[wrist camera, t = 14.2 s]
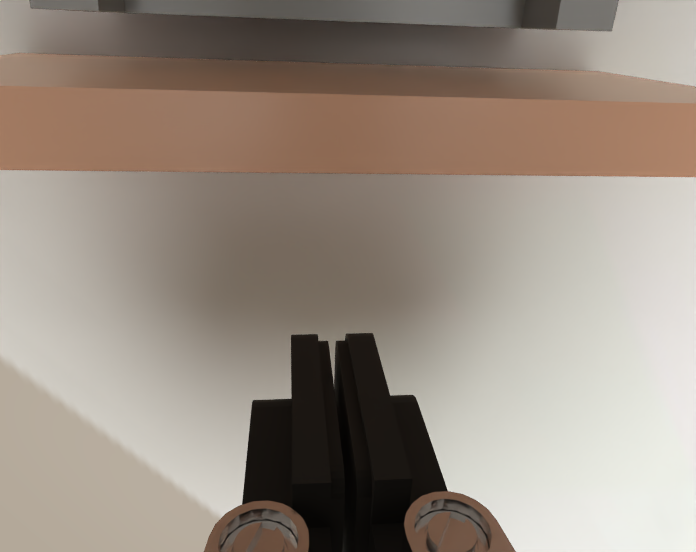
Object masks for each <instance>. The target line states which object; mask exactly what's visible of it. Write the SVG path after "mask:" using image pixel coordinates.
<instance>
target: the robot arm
mask: <svg viewBox="0 0 696 552" xmlns="http://www.w3.org/2000/svg"><path fill="white" fill-rule="evenodd" d="M291 380H292V399H275V400H253V402H252V410H251V420H250V431H249V441H248V451H247V461H246V472H245V482H244V492H243V503H242V505H240V506H238V507H236V508H234V509H233V510H231V511H229V512H228V513H226V514H225V515H224V516H223V517H222V518H221V519H220V520H219V521H218V522H217V523H216V524H215V526H214V528H213V530H212V532H211V534H210V536H209V538H208V541H207V544H206V547H205V550H204V552H515V550H514V548H513V547H512V545H511V543H510V542H509V540H508V538H507V537H506V535H505V533H504V532H503V530H502V528H501V527H500V525H499V523H498V522H497V520H496V519H495V518H494V516H493V515H492V514H491V513H490V511H489V510H488V509H487V508H486V507H484V506H483V505H482V504H480V503H479V502H478V501H476V500H474V499H472V498H470V497H468V496H465V495H463V494H459V493H454V492H449V491H447V488H446V485H445V482H444V479H443V476H442V473H441V470H440V467H439V464H438V461H437V458H436V455H435V452H434V449H433V446H432V444H431V441H430V438H429V435H428V432H427V429H426V426H425V423H424V420H423V417H422V414H421V411H420V408H419V405H418V402H417V400H416V398H415V396H413V395H398V396H390V394H389V390H388V387H387V383H386V379H385V376H384V372H383V368H382V365H381V361H380V357H379V354H378V350H377V346H376V343H375V339H374V335H373V333H356V334H346V337H345V341H336V346H335V379H334V384H333V376H332V368H331V360H330V352H329V344H328V341H318V335H317V334H308V335H291Z"/></svg>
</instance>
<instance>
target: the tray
mask: <svg viewBox="0 0 696 552" xmlns="http://www.w3.org/2000/svg"><path fill="white" fill-rule="evenodd" d="M29 1H30V6H31V8H35V9H54V10H72V11H92V12H117V13H142V14H168V15H193V16H218V17H244V18H269V19H294V20H320V21H345V22H370V23H396V24H421V25H446V26H472V27H497V28H522V29H548V30H584V31H612V28H613V23H614V19H615V14H616V10H617V5H618V1H619V0H29ZM0 170H63V171H159V172H255V173H351V174H447V175H543V176H639V177H696V87H694V86H688V85H682V84H675V83H669V82H663V81H656V80H650V79H644V78H637V77H631V76H625V75H618V74H612V73H606V72H599V71H573V70H541V69H509V68H478V67H446V66H414V65H382V64H351V63H319V62H287V61H255V60H224V59H192V58H160V57H128V56H97V55H65V54H33V53H14V54H6V55H0Z"/></svg>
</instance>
